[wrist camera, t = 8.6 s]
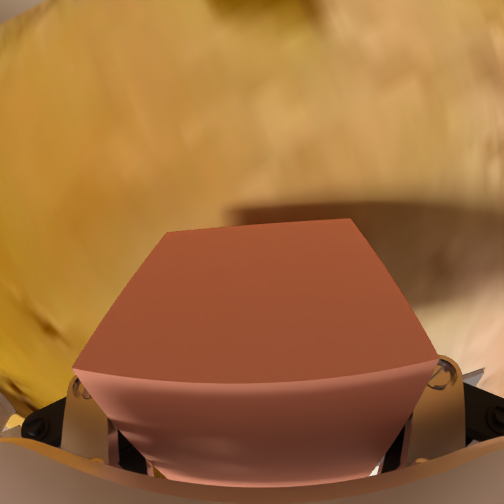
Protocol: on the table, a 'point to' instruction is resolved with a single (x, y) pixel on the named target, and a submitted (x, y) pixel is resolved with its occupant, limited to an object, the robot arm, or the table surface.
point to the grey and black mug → (5, 411)
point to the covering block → (260, 356)
